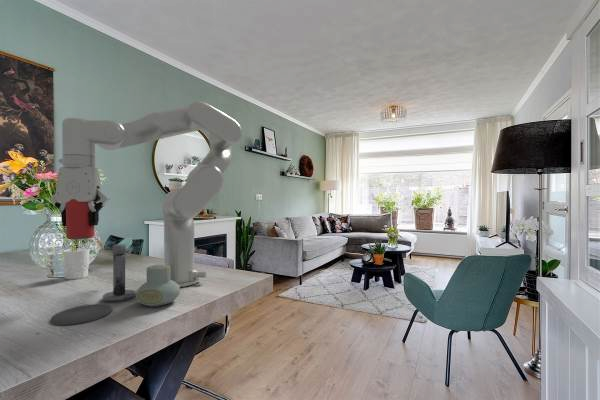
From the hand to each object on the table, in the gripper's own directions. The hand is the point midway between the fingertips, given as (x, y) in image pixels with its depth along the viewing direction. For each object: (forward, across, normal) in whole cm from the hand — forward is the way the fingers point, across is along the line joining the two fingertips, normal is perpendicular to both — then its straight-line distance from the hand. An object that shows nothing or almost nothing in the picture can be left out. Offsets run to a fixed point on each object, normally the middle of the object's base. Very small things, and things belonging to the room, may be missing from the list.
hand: (80, 225), depth 87 cm
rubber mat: (+21, +9, -13) cm, 26 cm away
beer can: (+4, 0, 0) cm, 4 cm away
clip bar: (+8, +8, +8) cm, 14 cm away
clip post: (+21, +11, 0) cm, 24 cm away
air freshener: (+21, +24, -5) cm, 32 cm away
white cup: (+21, -17, +25) cm, 37 cm away
